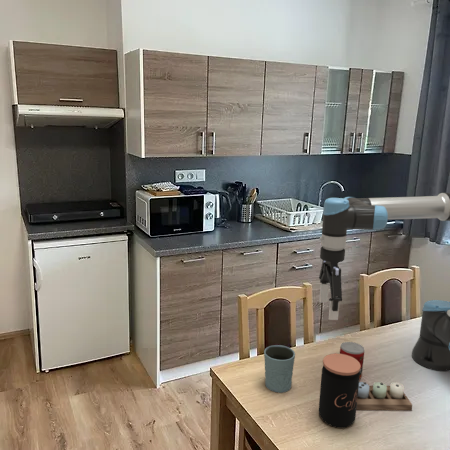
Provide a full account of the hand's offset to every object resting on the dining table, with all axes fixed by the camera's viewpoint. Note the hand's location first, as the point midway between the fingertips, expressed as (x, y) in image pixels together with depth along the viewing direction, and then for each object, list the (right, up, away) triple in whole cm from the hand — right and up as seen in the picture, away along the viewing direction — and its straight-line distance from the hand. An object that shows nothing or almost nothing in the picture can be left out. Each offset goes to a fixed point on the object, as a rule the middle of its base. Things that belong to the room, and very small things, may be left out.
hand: (328, 310), depth 143 cm
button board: (+15, -28, -3) cm, 32 cm away
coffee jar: (0, -30, -12) cm, 32 cm away
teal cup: (-16, -26, +4) cm, 30 cm away
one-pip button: (+21, -26, -3) cm, 34 cm away
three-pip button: (+10, -26, -4) cm, 28 cm away
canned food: (+10, -25, +10) cm, 29 cm away
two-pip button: (+15, -26, -4) cm, 30 cm away
